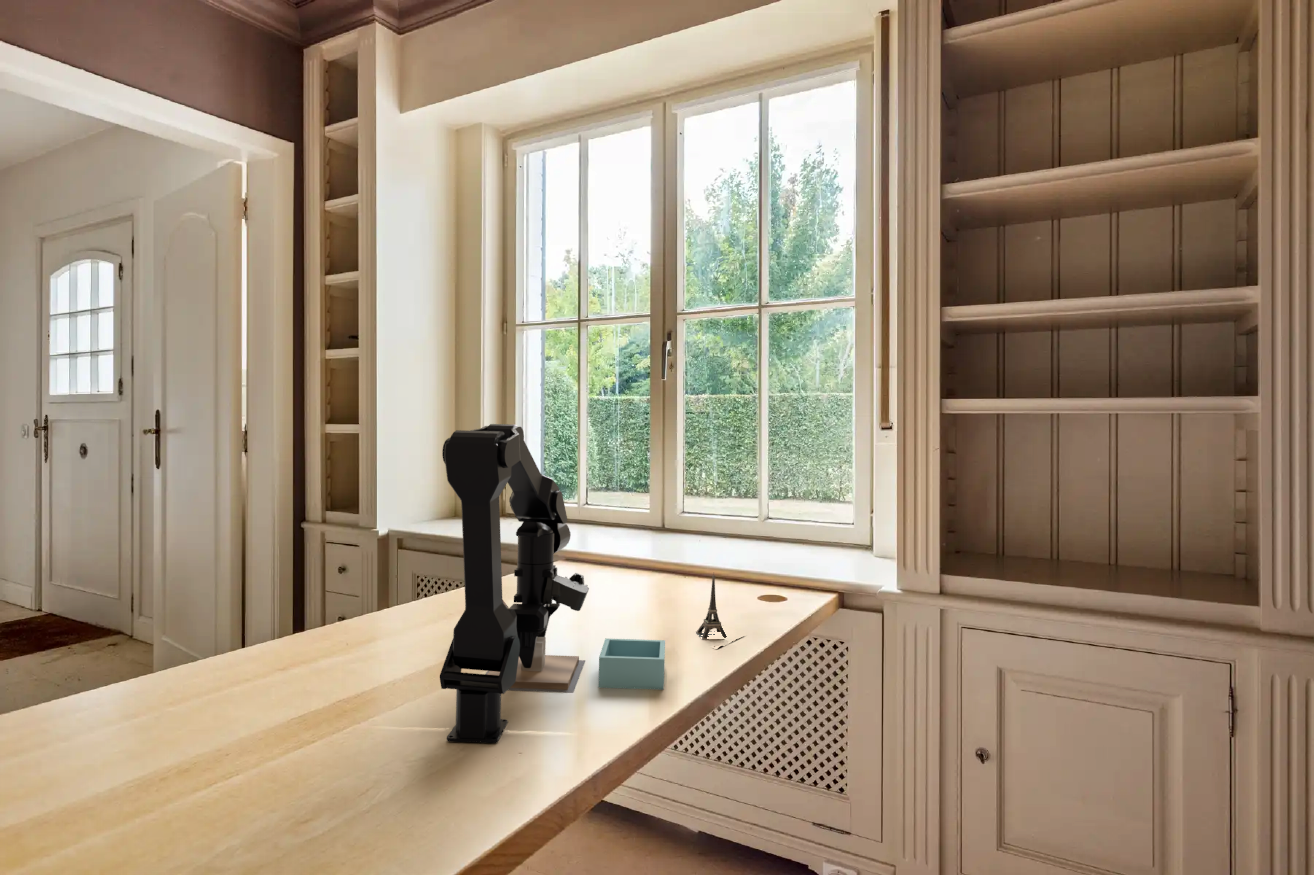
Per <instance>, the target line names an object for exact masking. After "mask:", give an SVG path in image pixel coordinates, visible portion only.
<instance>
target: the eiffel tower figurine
mask: <svg viewBox="0 0 1314 875" xmlns="http://www.w3.org/2000/svg"><path fill="white" fill-rule="evenodd" d="M711 580H712V581H711V590H710V600H709V607H708V608H707V613H706V617H705V618H704V619H703V623H702V624H700V626H699V628H698V629H697V630H696V631H695V632H696V633H695V634H696V635H697V636H698V635H699V636H698V637H699V638H700V637H702V639H701V641H707V640H708V639H707V637H709V636H708V635H712V634H708V633H709V632H712V630H715V629H716V630H715V631H717V632H721V634H722V636H723V637H724V638H726V637H727V636H726V634H725V632H724V630H723V628H722V626H723V625H722V621H721V620H720V619H719V616H718V609H717V604H716V600H717V599H716V576H715V573H713V574H712V576H711ZM712 617H713V618H712ZM703 630H704V631H703ZM715 631H714V632H715ZM702 632H704V633H702ZM701 635H703V636H701ZM713 635H715V634H713ZM708 641H709V640H708Z"/></svg>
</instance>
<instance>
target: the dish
mask: <svg viewBox="0 0 1314 875" xmlns="http://www.w3.org/2000/svg"><path fill="white" fill-rule="evenodd" d="M665 658H666V640H665V639H663V640H662V639H636V638H635V639H634V638H633V639H632V638H631V639H630V638H605V639H604V642H603V644H602V648H601V651H600V652H599V657H598V687H597V688H600V689H601V688H603V689H604V688H605V689H606V688H607V689H631V690H632V689H633V690H634V689H635V690H661V691H662V690H663V691H664V687H665V663H666V662H665V661H666V659H665Z"/></svg>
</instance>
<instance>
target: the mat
mask: <svg viewBox="0 0 1314 875" xmlns="http://www.w3.org/2000/svg"><path fill="white" fill-rule="evenodd" d="M585 664H586V660H583V659H579V663H578V666H577V668H576V671H575V673H574V675H573V678H572V680H571V683H570V685H569V688H568V690H560V689H530V688H509V689H508V690H507V691H509V692H510V691H512V692H513V691H515V692H537V693H538V692H539V693H540V692H542V693H567V694H570V693H575V689H576V686H577V684H578V682H579V679H580V678H581V677H580V676H581V673H582V671H583V668H584V665H585ZM488 672H489V671H486V673H485V674H486V675H487V674H488ZM507 691H506V692H507Z"/></svg>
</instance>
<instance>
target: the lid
mask: <svg viewBox="0 0 1314 875" xmlns="http://www.w3.org/2000/svg"><path fill="white" fill-rule="evenodd" d="M546 643H547V642H546V636H545V637H537V641H536V647H535V652H534V657H533V662H532V667H531V668H524V666H523V664H522V662H521V660H520V657H519V659H518V667H517V674H516V681H515V683H514V684H513V685H512V686H511V687H510V688H530V689H560V690H568V688H569V685H570V683H571V680H572V678H573V675H574V673H575V671H576V668H577V666H578V663H579V660H580V656H579V655H556V654H555V655H551V654H546ZM499 674H500V672H496V671H489V672H488V674H487V675H498V676H499Z"/></svg>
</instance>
